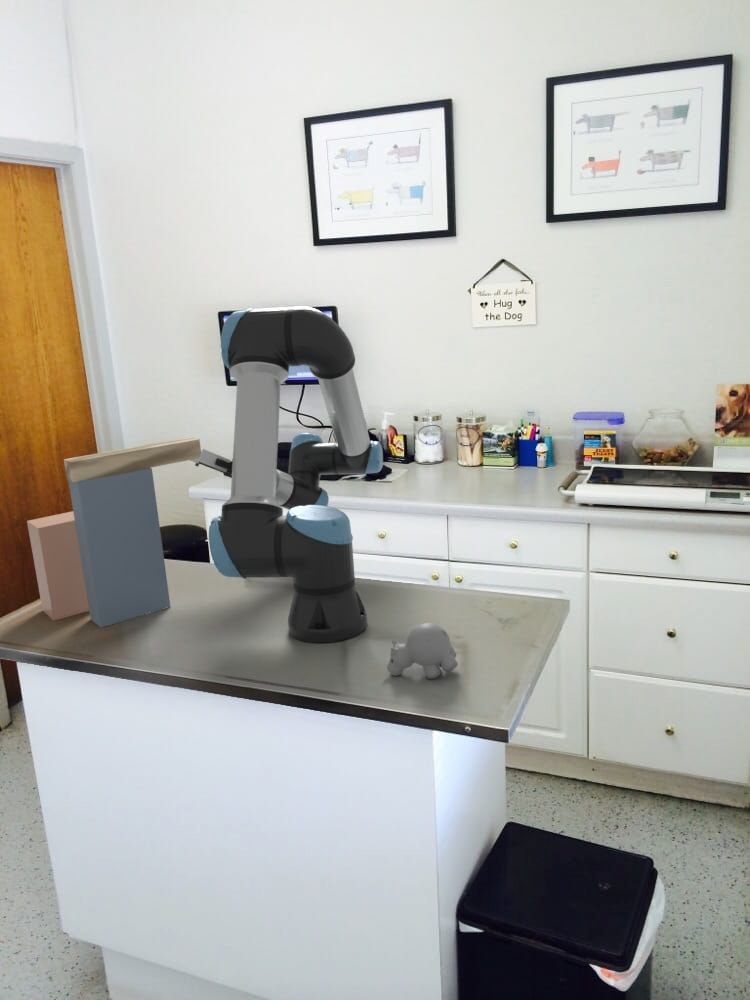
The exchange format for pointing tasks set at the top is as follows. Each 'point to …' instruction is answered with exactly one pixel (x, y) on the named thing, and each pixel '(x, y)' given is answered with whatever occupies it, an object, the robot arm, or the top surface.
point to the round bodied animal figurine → (423, 651)
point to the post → (120, 545)
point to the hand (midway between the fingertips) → (187, 451)
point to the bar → (131, 459)
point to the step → (58, 565)
